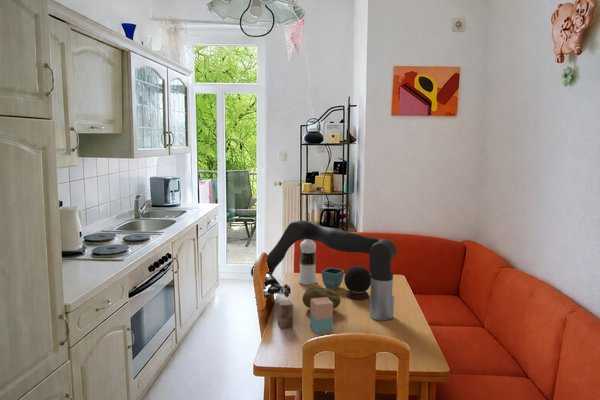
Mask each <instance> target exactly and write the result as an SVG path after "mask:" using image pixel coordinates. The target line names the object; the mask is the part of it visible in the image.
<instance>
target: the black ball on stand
mask: <svg viewBox="0 0 600 400" xmlns="http://www.w3.org/2000/svg"><path fill="white" fill-rule="evenodd" d="M343 282H344V285H345V287H346V288H347V289H348V291H347V292H346V293H345V298H347V299H349V300H352V301H353V300H354V301H365V299H366V300H368V299H369V298H370V294H369V293H368V292H367V291H368V290H370V288H371V273H370V270H368V269H367V268H365V267H364V266H361V265H354V266H351V267H349V268H348V269H347V270H346V272H344V275H343Z"/></svg>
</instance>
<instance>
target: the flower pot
mask: <svg viewBox="0 0 600 400" xmlns="http://www.w3.org/2000/svg"><path fill="white" fill-rule="evenodd" d="M344 276H345V270H343V269H339V268H334V267H328V268H326V269H323V270H322V271H321V279H322V282H323V285H324V287H325V289H329V290H336V289H338V288H339V287H340V286H341V284H342V283H343V281H344Z"/></svg>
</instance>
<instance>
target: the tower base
mask: <svg viewBox="0 0 600 400" xmlns="http://www.w3.org/2000/svg"><path fill="white" fill-rule="evenodd" d="M309 313H310V312H309ZM309 315H310V316H309V319H310V321H309V322H310V323H309V326H310V329H311V330H312V331H313V332H314V334H315V335H318V334H327V333H333V331H334V330H333V325H334V324H333V323H334V317H333V318H326V319H317V320H316V319H315V318H314V317H313V315H312V314H311V313H310V314H309Z"/></svg>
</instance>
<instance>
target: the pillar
mask: <svg viewBox="0 0 600 400" xmlns="http://www.w3.org/2000/svg"><path fill="white" fill-rule="evenodd" d="M277 325H278V327H279V328H280V330H287V329H288V330H289V329H293V328H294V304H293V302H292V301H291V300H290V299H286V300H284V299H283V300H277Z"/></svg>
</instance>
